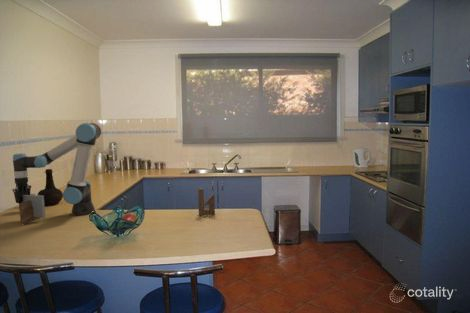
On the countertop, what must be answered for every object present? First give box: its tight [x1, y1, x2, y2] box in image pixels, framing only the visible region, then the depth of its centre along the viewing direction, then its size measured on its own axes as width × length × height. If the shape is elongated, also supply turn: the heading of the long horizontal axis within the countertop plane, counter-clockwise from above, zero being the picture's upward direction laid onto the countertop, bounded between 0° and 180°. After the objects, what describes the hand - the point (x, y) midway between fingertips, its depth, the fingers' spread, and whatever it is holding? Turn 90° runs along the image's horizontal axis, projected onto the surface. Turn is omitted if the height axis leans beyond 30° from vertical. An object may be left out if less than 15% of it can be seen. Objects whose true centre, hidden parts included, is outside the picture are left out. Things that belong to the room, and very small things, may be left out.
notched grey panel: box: [18, 194, 46, 218], centre depth 233 cm, size 18×2×14 cm, turn 77°
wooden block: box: [197, 187, 216, 217], centre depth 238 cm, size 4×11×18 cm, turn 98°
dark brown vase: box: [37, 168, 64, 206], centre depth 280 cm, size 18×18×28 cm
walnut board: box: [18, 201, 43, 225], centre depth 234 cm, size 2×18×14 cm, turn 167°
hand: (24, 212), depth 235 cm, fingers closed on notched grey panel, 2 cm apart
